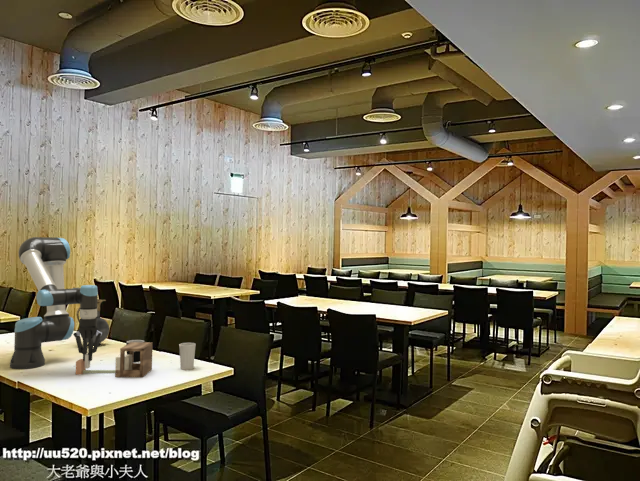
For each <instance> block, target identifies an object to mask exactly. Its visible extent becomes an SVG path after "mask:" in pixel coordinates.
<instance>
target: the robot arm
mask: <svg viewBox="0 0 640 481" xmlns="http://www.w3.org/2000/svg"><path fill="white" fill-rule="evenodd" d="M17 252H18V258H19V260H20V263H22V264H23V265H25V267H26V269H27V271H28V273H29V275H30V277H31V279H32V281H33V283H34V285H35V286H36V289H37V293H36V298H35V299H36V303H37V305H38V306H40V307H46V312H45V314H44V315H43V318H42V317H41V316H32V317H26V318H22V319H20V320H19V319H18V320H17V321H16V322H15V325H14V330H13V331H14V344H13V345H14V346H13V347H14V350H13V354H12V356H11V359H10V361H9V368H10V369H13V370H14V369H16V370H25V369H34V368H35V369H36V368H39V367H42V366H44V365H46V364H45V363H46V359H45V357H44V353H43V351H42V350H43V349H42V344H43V343H49V342H50V343H52V342H58V341H59V342H62V341H66V340H69V339H70V338H71V337H72V336H74V339H75V341H76V346H77V351H78V353H79V354H82V359H83V361H85V369H86V370H88V369H89V368H91V362H92V360H93V354H95V353H96V352H97V351H98V347H99V346H98V344H99V340H100V337H101V336H102V334H103V333H102V332H99V331H98V329H97V318H96V317H97V300H98V299H99V290H98V286H97V285H95V284H85V285H84V284H83V285H81V286H80V287H72V288H65V274H64V273H65V272H64V266H65V264H66V263H67V260H68V259H69V258H70V256H71V246H70V244H69V242H68V240H66V238H63V237H51V236H50V237H47V236H46V237H43V236H42V237H41V236H40V237H39V236H32V237H29V238H28V239H26V240H24V241H23V242H22V243H21V244H20V246H19V249H18V251H17ZM66 305H79V307H80V311H79V320H80V323H79V328H78V331H76V332H74V330H75V321H74V318H73V317H72V316H70V313H69V312H68V311H67V309H66ZM95 334H96V336H97V337H96V339H95V343H94V347H93V336H94V335H95ZM81 335H82V337H83V339H82V337H81ZM87 342H88V343H87ZM87 345H88V346H87Z"/></svg>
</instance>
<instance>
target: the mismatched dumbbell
mask: <svg viewBox="0 0 640 481" xmlns="http://www.w3.org/2000/svg"><path fill="white" fill-rule="evenodd" d="M116 370H120V354H119V355H117V356H115V368H114V369H85V361H83V358H79V359H77V360H76V361H75V375H80V376H81V375H83V374H115V371H116ZM124 370H132V355H127V354H125V363H124Z"/></svg>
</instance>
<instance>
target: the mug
mask: <svg viewBox="0 0 640 481" xmlns="http://www.w3.org/2000/svg"><path fill="white" fill-rule="evenodd" d="M130 342H145V340H142V339H131V340H126V344H125V345H127V344H129V343H130ZM126 355H130V351H126ZM133 363H140V351H134V358H133Z"/></svg>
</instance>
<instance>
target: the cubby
mask: <svg viewBox="0 0 640 481" xmlns="http://www.w3.org/2000/svg"><path fill="white" fill-rule="evenodd" d="M127 351H130V355H132V370H124V363H125V355H126V354H125V353H126V352H127ZM134 351H140V361H139V362H133V358H134ZM119 355H120V370H116V371H115V373H114V375H115V378H144V377H145V376H146V375H147V374H149V373H150V372H151V371H152V369H153V342H150V341H149V342H147V341H144V342H130V343H129V344H127V345H126V344H125V345H124V346H122V347H121V348H120V352H119Z"/></svg>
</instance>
